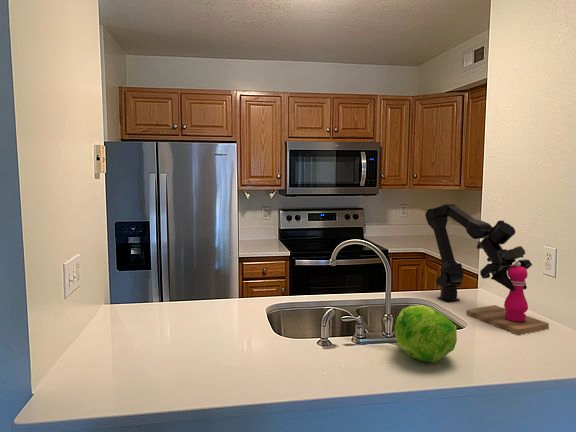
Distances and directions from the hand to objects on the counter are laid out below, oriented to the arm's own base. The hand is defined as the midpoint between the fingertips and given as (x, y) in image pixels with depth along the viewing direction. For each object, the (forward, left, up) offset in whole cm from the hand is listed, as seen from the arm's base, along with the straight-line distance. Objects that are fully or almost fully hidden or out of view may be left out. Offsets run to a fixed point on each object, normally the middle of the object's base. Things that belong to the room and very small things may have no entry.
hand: (519, 289), depth 142 cm
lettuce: (+9, -45, -13) cm, 47 cm away
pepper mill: (-1, 0, -11) cm, 11 cm away
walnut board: (-5, -1, -13) cm, 14 cm away
